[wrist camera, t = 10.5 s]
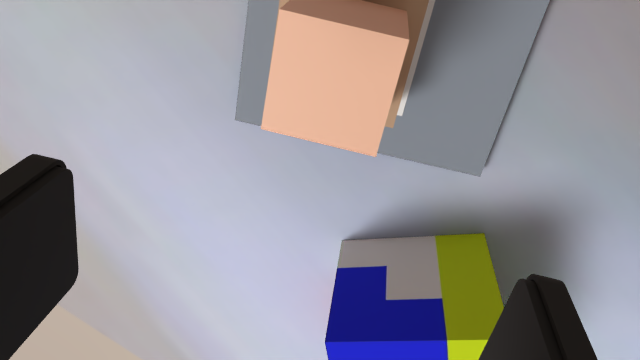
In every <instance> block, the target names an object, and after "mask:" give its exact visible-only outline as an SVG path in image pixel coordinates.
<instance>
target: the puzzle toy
mask: <svg viewBox="0 0 640 360" xmlns="http://www.w3.org/2000/svg"><path fill="white" fill-rule="evenodd" d="M503 309H504V306H503V302H502V298H501V295H500V291H499V287H498V283H497V280H496V276H495V272H494V268H493V265H492V261H491V257H490V253H489V249H488V246H487V242H486V238H485V234H484V233H479V234H460V235H440V236H420V237H401V238H381V239H361V240H342V243H341V249H340V255H339V261H338V267H337V273H336V279H335V285H334V291H333V297H332V303H331V309H330V315H329V321H328V326H327V332H326V338H325V345H326V350H327V355H328V360H478V359H479V357H480V355H481V353H482V351H483V349H484V347H485V345H486V343H487V341H488V339H489V337H490V335H491V333H492V331H493V329H494V327H495V325H496V323H497V321H498V319H499V317H500V315H501V313H502V311H503Z"/></svg>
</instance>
